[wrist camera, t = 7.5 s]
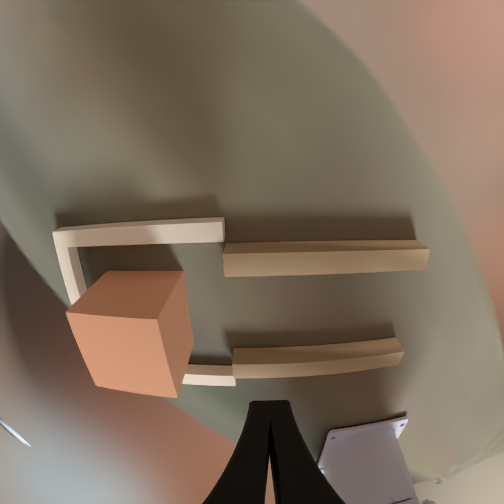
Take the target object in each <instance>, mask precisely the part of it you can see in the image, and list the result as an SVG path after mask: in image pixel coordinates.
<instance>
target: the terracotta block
mask: <svg viewBox="0 0 504 504" xmlns="http://www.w3.org/2000/svg"><path fill="white" fill-rule="evenodd" d="M66 315H67V318H68V320H69V323H70V326H71V328H72V331H73V334H74V336H75V339H76V341H77V344H78V346H79V349H80V351H81V353H82V356H83V358H84V360H85V362H86V365H87V367H88V369H89V371H90V374H91V376H92V378H93V380H94V382H95V384H96V386H100V387H105V388H110V389H116V390H122V391H128V392H134V393H140V394H147V395H155V396H163V397H172V398H178V396H179V392H180V389H181V385H182V382H183V378H184V375H185V371H186V368H187V365H188V361H189V358H190V354H191V351H192V348H193V344H194V337H193V331H192V325H191V319H190V312H189V306H188V299H187V292H186V285H185V277H184V271H107V272H106V273H105V274H103V275H102V276H101V277H100V278H99V279H98V280H97V281H96V282H95V283H94V284H93V285H92V286H91V287H90V288H89V289H88V290H87V291H86V292H85V293H84V294H83V295H82V296H81V297H80V298H79V299H78V300H77V301H76V302H75V303H74V304H73V305H72V306H71V307H70V308H69V309H68V310H67V311H66Z"/></svg>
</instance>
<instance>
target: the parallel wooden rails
mask: <svg viewBox="0 0 504 504" xmlns="http://www.w3.org/2000/svg"><path fill="white" fill-rule="evenodd" d="M429 252H430V249H429V248H428V247H426V246H425V245H424V244H422V243H421V242H419V241H418V240H351V241H294V242H248V243H226V245H225V248H224V251H223V267H224V277H248V276H290V275H322V274H348V273H370V272H391V271H409V270H426V268H427V263H428V258H429ZM404 352H405V351H404V350H403V348H402V346H401V345H400V343H399V341H398V340H397V338H396V337H394V338H386V339H378V340H370V341H361V342H351V343H340V344H328V345H313V346H295V347H267V348H234V352H233V361H232V368H233V377H234V378H281V377H301V376H316V375H328V374H338V373H347V372H356V371H363V370H371V369H377V368H384V367H390V366H396V365H400V363H401V360H402V357H403V354H404Z"/></svg>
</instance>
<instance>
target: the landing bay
mask: <svg viewBox="0 0 504 504" xmlns="http://www.w3.org/2000/svg"><path fill="white" fill-rule="evenodd" d="M52 233H53V237H54V242H55V247H56V251H57V255H58V259H59V263H60V267H61V271H62V275H63V278H64V282H65V285H66V289H67V292H68V295H69V299H70V302H71V305H73V304H74V303H75V302H76V301H77V300H78V299H79V298H80V297H81V296H82V295H83V294H84V293H85V292H86V291H87V287H86V283H85V279H84V275H83V271H82V267H81V263H80V259H79V254H78V250H77V247H86V246H111V245H139V244H169V243H202V242H224V239H225V236H226V235H225V218H224V217H214V218H190V219H170V220H152V221H136V222H121V223H107V224H94V225H82V226H70V227H61V228H59V229H57V230H55V231H53V232H52ZM182 384H194V385H214V386H236V378H234V377H233V368H232V366H221V365H193V364H188V365H187V368H186V371H185V375H184V378H183V382H182Z"/></svg>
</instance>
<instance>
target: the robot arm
mask: <svg viewBox="0 0 504 504" xmlns="http://www.w3.org/2000/svg"><path fill="white" fill-rule="evenodd" d="M407 422H408V417H407V416H404V417H400V418H396V419H391V420H387V421H382V422H377V423H372V424H366V425H361V426H355V427H348V428H341V429H334V430H331V431H329V432H328V435H327V438H326V441H325V444H324V448H323V451H322V454H321V457H320V459H319V462H318V465H317V464H316V462H315V460H314V459H313V457H312V455H311V453H310V452H309V450H308V448H307V446H306V444H305V442H304V440H303V438H302V436H301V433H300V431H299V429H298V426H297V424H296V421H295V419H294V416H293V413H292V410H291V406H290V402H289V401H288V400H271V401H251V402H250V403H249V410H248V414H247V418H246V422H245V425H244V428H243V431H242V433H241V436H240V438H239V441H238V443H237V446H236V448H235V450H234V453H233V455H232V457H231V458H230V460H229V462H228V465H227V466H226V468H225V470H224V472H223V474H222V475H221V477H220V479H219V480H218V482H217V484H216V485H215V487H214V488H213V490H212V491H211V493H210V494H209V496H208V497H207V498H206V500H205V501H204V502H203V504H265V493H266V483H267V474H268V464H269V454H270V462H271V470H272V478H273V487H274V494H275V504H421V503H420V501H419V499H418V497H417V495H416V492H415V489H414V486H413V483H412V479H411V476H410V473H409V470H408V468H407V465H406V462H405V459H404V456H403V453H402V450H401V448H400V445H399V442H398V437H399V435H400V434H401V432H402V430H403V429H404V427H405V425H406V424H407ZM323 473H325V476H324V475H323ZM422 504H435V502H434V501H429V500H428V499H426V500H424V501H423V502H422Z"/></svg>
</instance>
